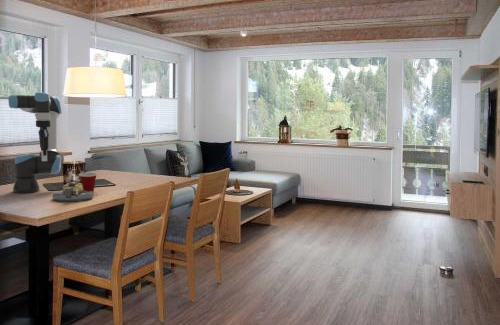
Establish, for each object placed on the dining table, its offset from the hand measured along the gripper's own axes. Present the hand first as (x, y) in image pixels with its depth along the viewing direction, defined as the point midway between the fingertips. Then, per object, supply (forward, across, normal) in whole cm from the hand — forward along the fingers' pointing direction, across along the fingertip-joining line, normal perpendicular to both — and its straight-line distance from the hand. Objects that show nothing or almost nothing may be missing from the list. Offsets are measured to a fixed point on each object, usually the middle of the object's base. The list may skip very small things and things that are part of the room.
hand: (44, 160), depth 269 cm
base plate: (+22, +8, +13) cm, 27 cm away
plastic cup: (+23, -6, +27) cm, 36 cm away
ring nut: (+19, +11, +12) cm, 24 cm away
